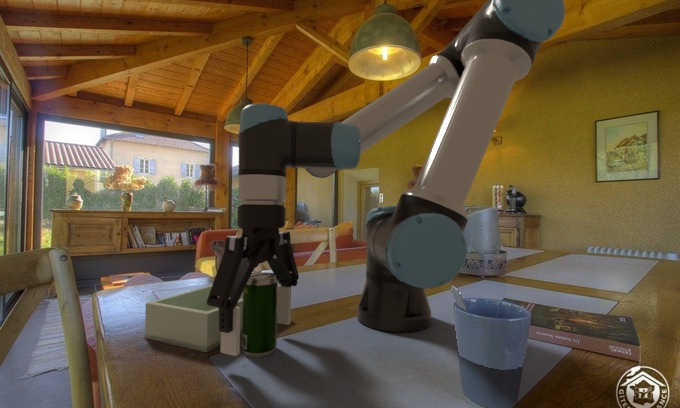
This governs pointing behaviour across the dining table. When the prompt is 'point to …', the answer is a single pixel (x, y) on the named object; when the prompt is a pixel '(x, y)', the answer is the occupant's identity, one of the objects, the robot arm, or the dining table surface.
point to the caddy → (186, 320)
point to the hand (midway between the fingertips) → (259, 336)
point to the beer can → (260, 315)
